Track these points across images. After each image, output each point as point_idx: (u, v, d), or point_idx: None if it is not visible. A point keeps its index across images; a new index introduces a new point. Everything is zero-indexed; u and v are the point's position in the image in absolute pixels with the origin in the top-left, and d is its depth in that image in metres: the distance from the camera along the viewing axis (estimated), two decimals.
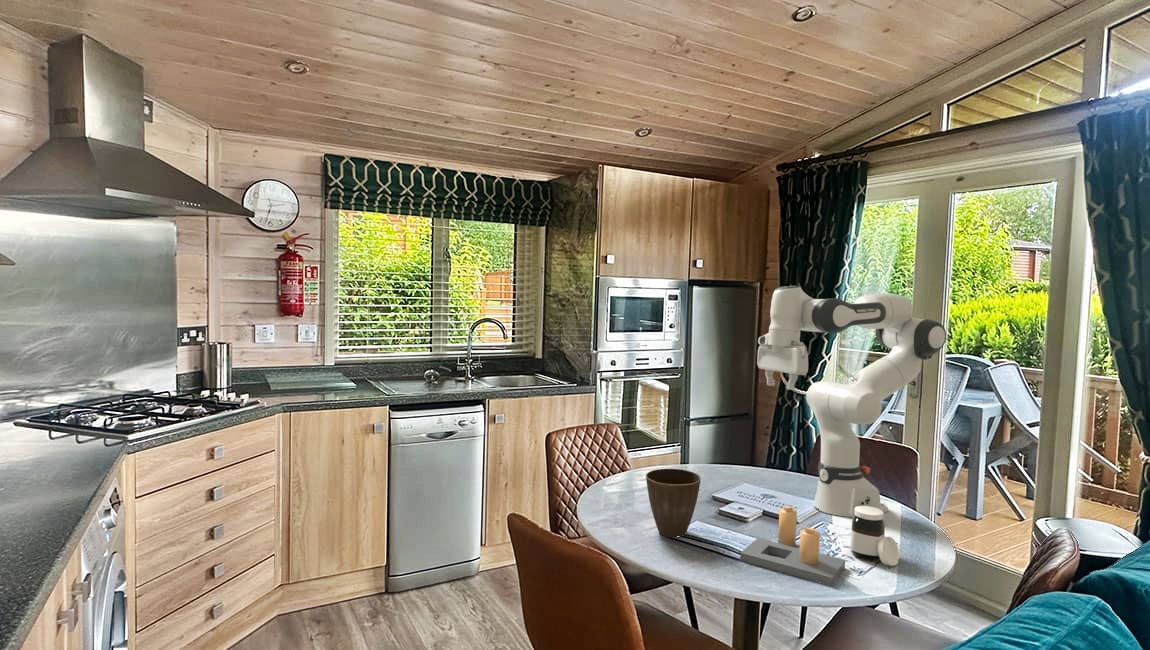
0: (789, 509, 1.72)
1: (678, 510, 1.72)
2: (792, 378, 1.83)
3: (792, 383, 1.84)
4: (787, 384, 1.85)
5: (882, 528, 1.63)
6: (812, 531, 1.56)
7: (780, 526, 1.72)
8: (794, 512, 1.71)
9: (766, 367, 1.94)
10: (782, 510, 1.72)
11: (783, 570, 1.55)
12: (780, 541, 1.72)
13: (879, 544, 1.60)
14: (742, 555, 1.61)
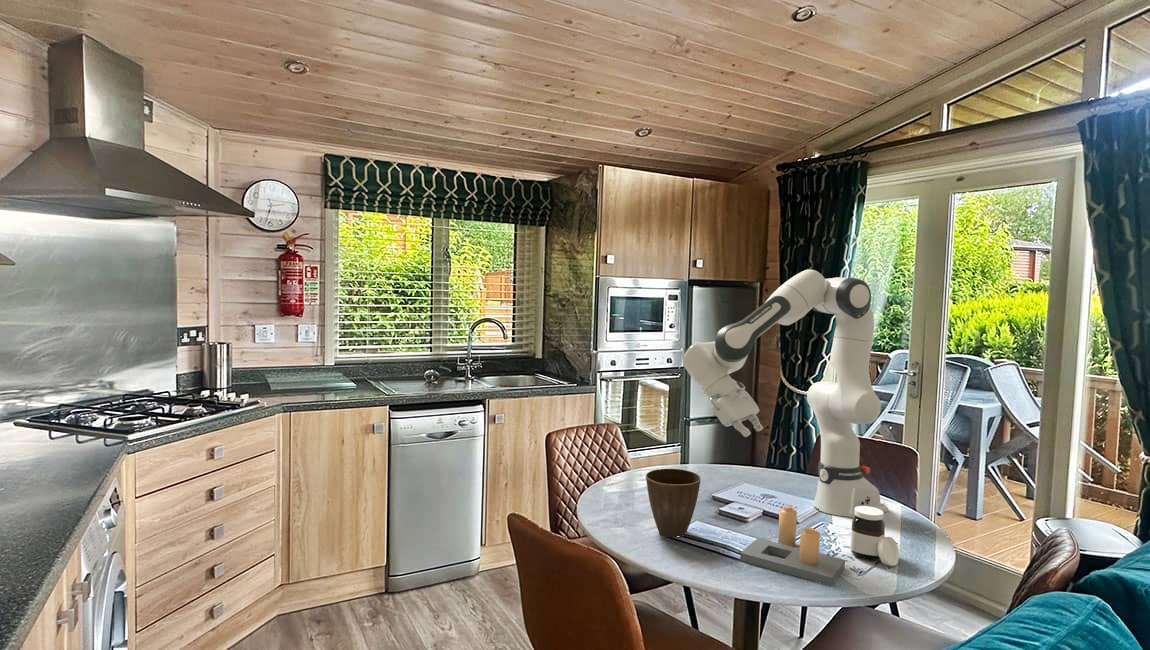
0: (789, 509, 1.72)
1: (678, 510, 1.72)
2: (736, 427, 1.75)
3: (742, 430, 1.74)
4: None
5: (882, 528, 1.63)
6: (812, 531, 1.56)
7: (780, 526, 1.72)
8: (794, 512, 1.71)
9: None
10: (782, 510, 1.72)
11: (783, 570, 1.55)
12: (780, 541, 1.72)
13: (879, 544, 1.60)
14: (742, 555, 1.61)
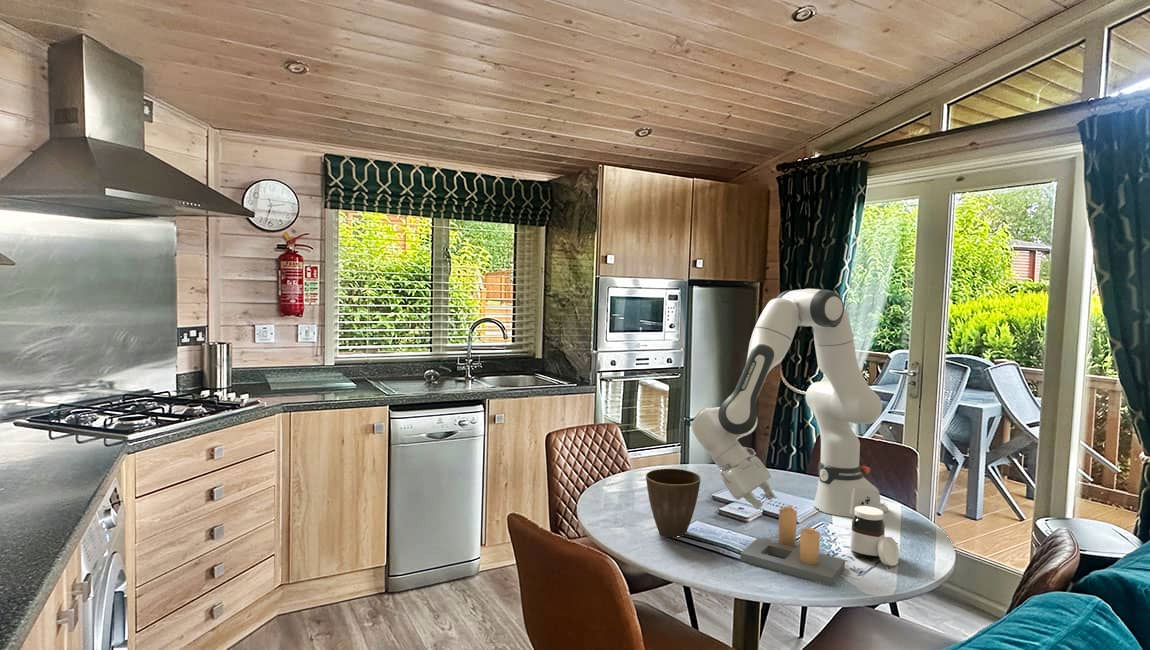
0: (789, 509, 1.72)
1: (678, 510, 1.72)
2: (747, 499, 1.72)
3: (754, 502, 1.72)
4: None
5: (882, 528, 1.63)
6: (812, 531, 1.56)
7: (780, 526, 1.72)
8: (794, 512, 1.71)
9: None
10: (782, 510, 1.72)
11: (783, 570, 1.55)
12: (780, 541, 1.72)
13: (879, 544, 1.60)
14: (742, 555, 1.61)
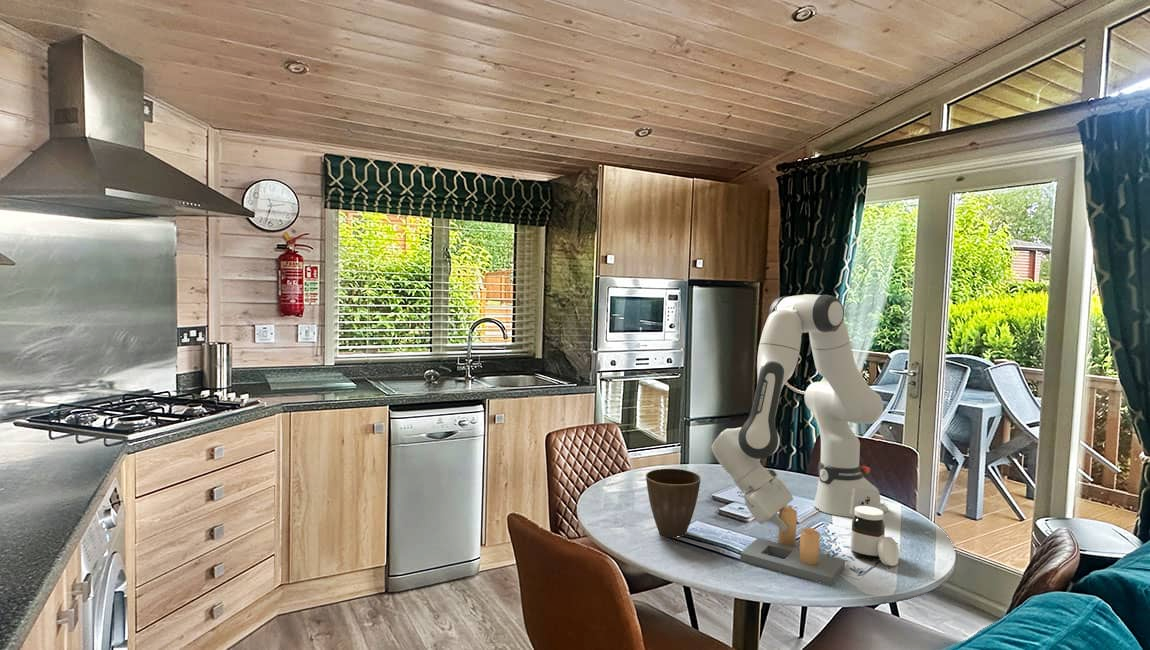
0: (789, 509, 1.72)
1: (678, 510, 1.72)
2: (773, 522, 1.70)
3: (780, 524, 1.70)
4: None
5: (882, 528, 1.63)
6: (812, 531, 1.56)
7: None
8: (794, 512, 1.71)
9: None
10: (782, 510, 1.72)
11: (783, 570, 1.55)
12: (780, 541, 1.72)
13: (879, 544, 1.60)
14: (742, 555, 1.61)
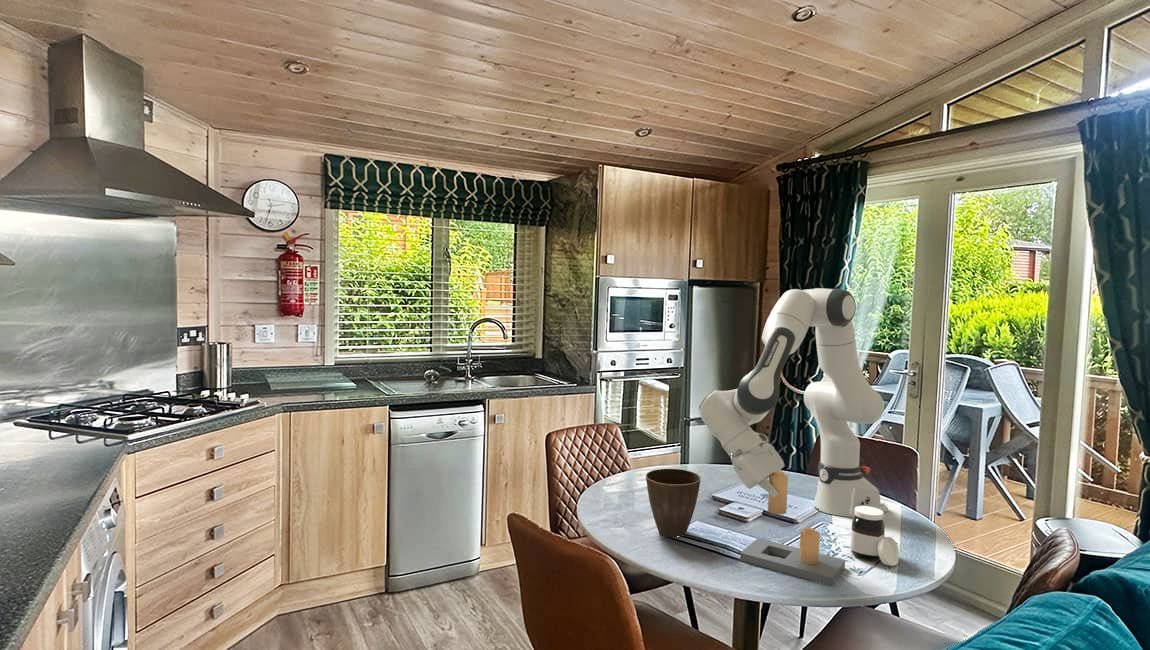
0: (780, 474, 1.61)
1: (678, 510, 1.72)
2: (763, 487, 1.59)
3: (770, 489, 1.59)
4: None
5: (882, 528, 1.63)
6: (812, 531, 1.56)
7: None
8: (785, 477, 1.60)
9: None
10: (772, 475, 1.61)
11: (783, 570, 1.55)
12: (770, 508, 1.61)
13: (879, 544, 1.60)
14: (742, 555, 1.61)
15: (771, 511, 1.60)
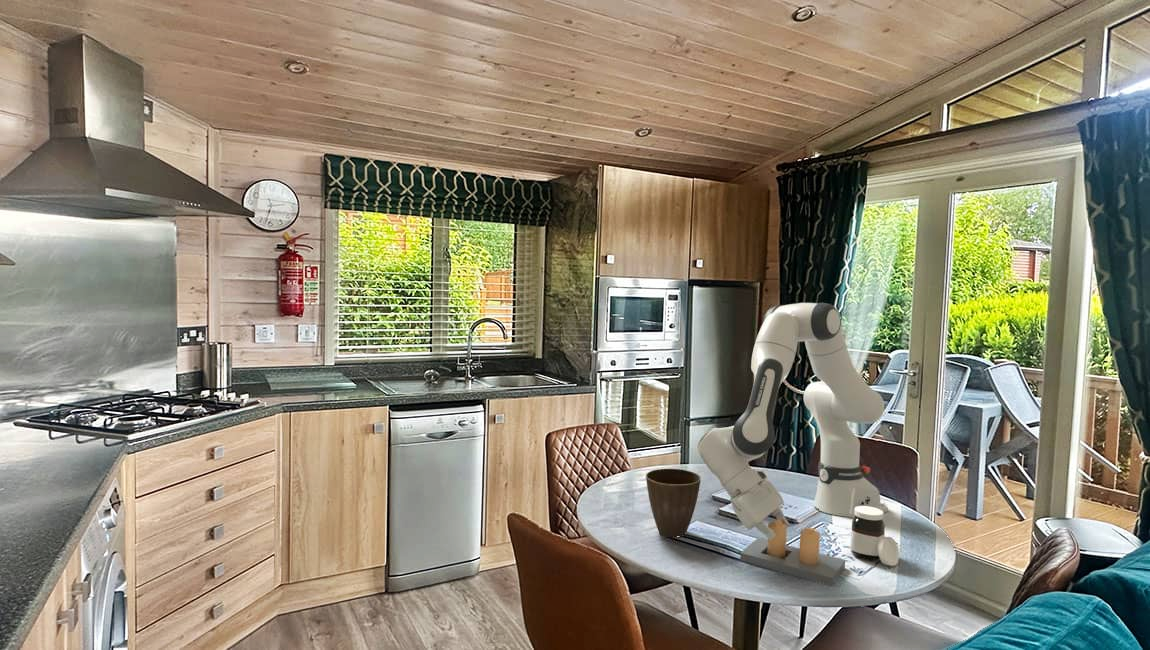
0: (778, 523, 1.61)
1: (678, 510, 1.72)
2: (760, 529, 1.58)
3: (767, 532, 1.58)
4: None
5: (882, 528, 1.63)
6: (812, 531, 1.56)
7: (769, 541, 1.62)
8: (784, 526, 1.61)
9: None
10: (771, 524, 1.62)
11: (783, 570, 1.55)
12: None
13: (879, 544, 1.60)
14: (742, 555, 1.61)
15: None
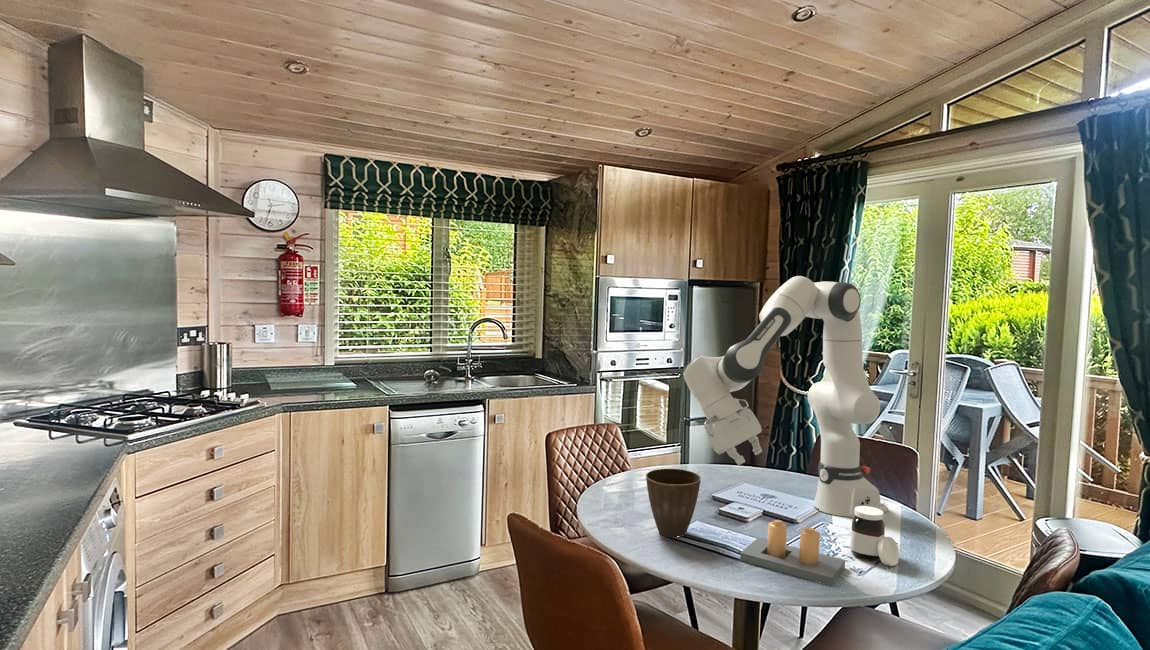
0: (778, 523, 1.61)
1: (678, 510, 1.72)
2: (730, 454, 1.66)
3: (736, 458, 1.66)
4: None
5: (882, 528, 1.63)
6: (812, 531, 1.56)
7: (769, 541, 1.62)
8: (784, 526, 1.61)
9: None
10: (771, 524, 1.62)
11: (783, 570, 1.55)
12: None
13: (879, 544, 1.60)
14: (742, 555, 1.61)
15: None
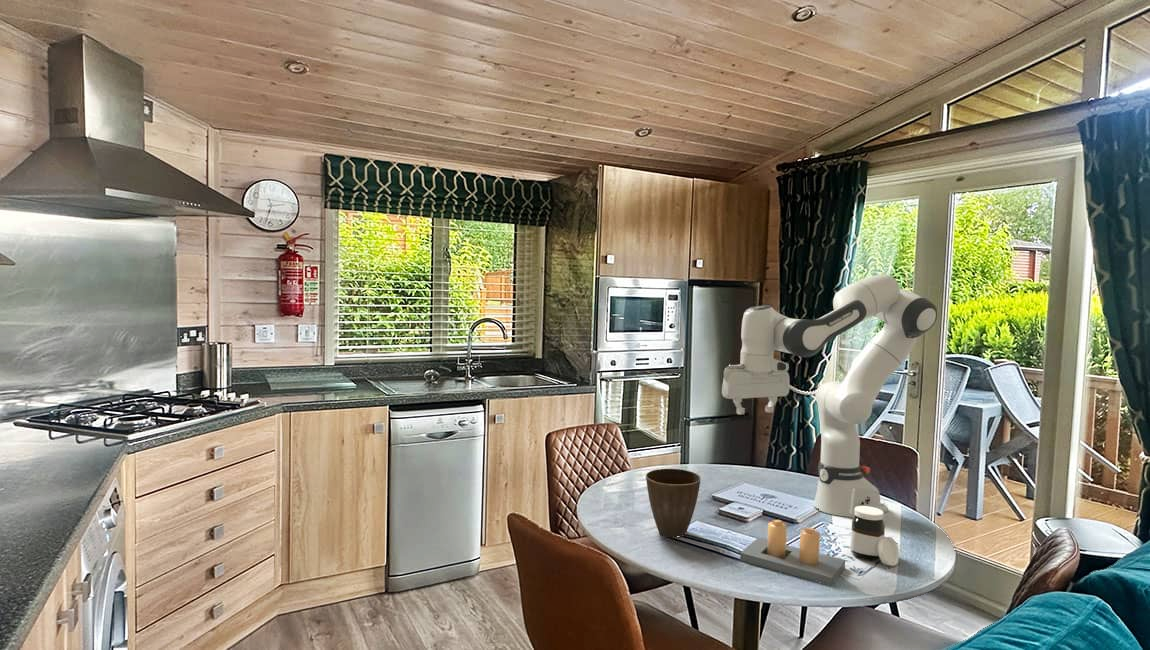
0: (778, 523, 1.61)
1: (678, 510, 1.72)
2: (734, 402, 1.79)
3: (738, 407, 1.79)
4: None
5: (882, 528, 1.63)
6: (812, 531, 1.56)
7: (769, 541, 1.62)
8: (784, 526, 1.61)
9: None
10: (771, 524, 1.62)
11: (783, 570, 1.55)
12: None
13: (879, 544, 1.60)
14: (742, 555, 1.61)
15: None
